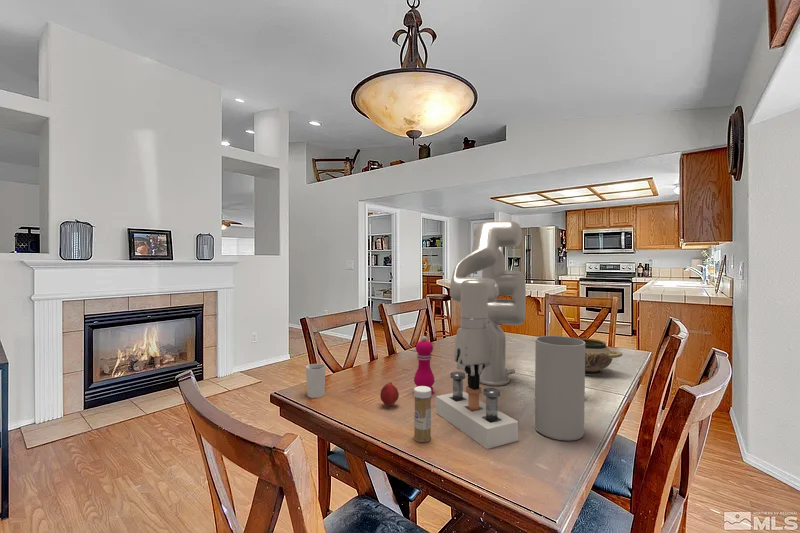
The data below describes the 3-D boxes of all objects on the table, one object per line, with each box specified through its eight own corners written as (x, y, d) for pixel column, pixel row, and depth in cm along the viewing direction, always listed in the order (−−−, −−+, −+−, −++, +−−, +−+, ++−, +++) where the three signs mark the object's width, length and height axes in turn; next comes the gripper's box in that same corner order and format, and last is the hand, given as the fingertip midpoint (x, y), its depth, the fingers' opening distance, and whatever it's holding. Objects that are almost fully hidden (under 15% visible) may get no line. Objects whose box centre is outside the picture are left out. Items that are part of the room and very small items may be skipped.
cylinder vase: (559, 445, 98) (560, 347, 97) (525, 425, 109) (525, 338, 108) (594, 436, 103) (596, 343, 102) (558, 418, 114) (559, 334, 113)
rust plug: (475, 411, 112) (475, 384, 112) (484, 417, 108) (484, 389, 108) (462, 414, 110) (462, 386, 110) (471, 420, 106) (471, 391, 106)
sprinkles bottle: (410, 439, 101) (410, 388, 101) (420, 433, 105) (420, 384, 104) (424, 444, 98) (424, 392, 98) (434, 438, 102) (434, 387, 101)
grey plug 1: (459, 396, 120) (459, 370, 119) (468, 401, 116) (468, 374, 115) (447, 398, 118) (447, 372, 117) (455, 403, 114) (455, 376, 113)
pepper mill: (433, 397, 131) (433, 338, 131) (412, 395, 133) (412, 337, 132) (435, 389, 139) (435, 334, 138) (415, 388, 140) (415, 333, 139)
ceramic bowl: (623, 380, 158) (625, 343, 160) (618, 380, 143) (620, 339, 146) (560, 370, 172) (562, 336, 174) (550, 369, 158) (552, 332, 160)
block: (463, 406, 123) (463, 391, 123) (518, 440, 100) (518, 421, 100) (435, 412, 119) (435, 396, 119) (487, 448, 96) (487, 429, 96)
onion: (385, 411, 120) (385, 385, 119) (377, 404, 125) (377, 380, 124) (401, 407, 122) (401, 382, 122) (393, 401, 127) (393, 377, 127)
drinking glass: (316, 390, 138) (316, 362, 138) (329, 394, 134) (329, 365, 134) (302, 395, 133) (301, 367, 132) (315, 400, 129) (315, 370, 129)
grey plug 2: (493, 415, 105) (493, 386, 105) (503, 422, 101) (504, 391, 101) (479, 418, 103) (480, 389, 103) (490, 425, 99) (490, 394, 99)
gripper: (487, 319, 115) (486, 380, 116) (444, 323, 109) (444, 387, 109) (503, 323, 108) (503, 388, 109) (459, 327, 102) (458, 396, 102)
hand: (473, 388), depth 109 cm, fingers closed
